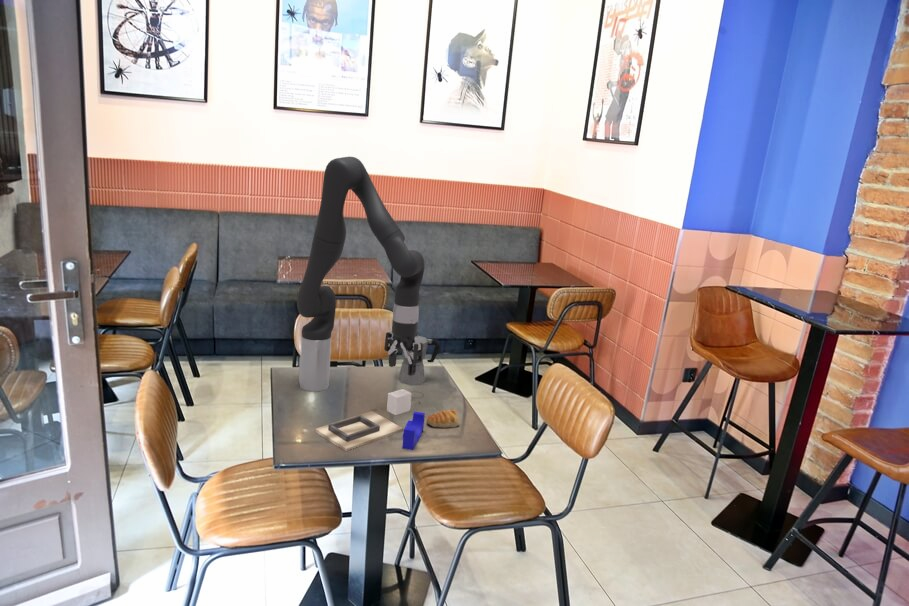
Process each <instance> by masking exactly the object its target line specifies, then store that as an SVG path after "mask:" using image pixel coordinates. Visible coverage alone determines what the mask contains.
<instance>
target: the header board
mask: <svg viewBox="0 0 909 606" xmlns="http://www.w3.org/2000/svg"><path fill="white" fill-rule="evenodd" d="M314 432H315V433H316V434H317V435H319V436H321V437H323V438H324V439H325V440H327V441H328V442H330V443H331V444H333V445H335V446H337V447H338V448H339V447H340V448H339V449H341V450H342V449H343V451H345V452H348V450H349V451H351V450H350V449H352V450H354V449H357V448H360V447H362V445H363V446H365V445H367V443H368V444H371V443H373V441H374V442H376V440H377V441H379V440H382V439H384V438H387V437H390V436H393V435H395V434H399V433H401V432H404V428H403V427H401V426H400V425H397V424H396V423H394V422H392V421H391V420H389V419H387V418H386V417H384V416H382V415H379V414H378V413H376V412H374V411H372V410H371V411H367V412H365V413H361V414H358V415H355V416H351V417H349V418H348V417H347V418H345V419H342V420H337V421H336V422H332V423H329V424H325V425H323V426H320V427H315V428H314ZM370 442H371V443H370ZM364 444H365V445H364ZM359 446H360V447H359ZM356 447H357V448H356ZM353 448H354V449H353Z"/></svg>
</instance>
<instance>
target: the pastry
mask: <svg viewBox="0 0 909 606" xmlns="http://www.w3.org/2000/svg"><path fill="white" fill-rule="evenodd" d="M426 423H427V424H428V425H430V427H431V426H432V427H433V428H441V429H442V428H445V429H446V428H456V427H458V426H459V425H460V418H459V413H458V412H457V410H455V409H449V410H448V409H446V410H445V409H444V410H439V411H438V412H436V413H432V414H430V415H428V416H427V418H426Z"/></svg>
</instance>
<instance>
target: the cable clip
mask: <svg viewBox="0 0 909 606" xmlns="http://www.w3.org/2000/svg"><path fill="white" fill-rule="evenodd" d="M412 414H413V415H412V420H410V419H409V420H407V422H406V425H405V427H404V428H403V434H402V449H405V450H411V451H414V448H416V445H417V444H418V442H419V440H420V438H421V437H422V433H423V432H424V428H425V427H424V426H425V417H426V414H425V412H419V411H413V413H412Z"/></svg>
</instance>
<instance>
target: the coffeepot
mask: <svg viewBox="0 0 909 606" xmlns="http://www.w3.org/2000/svg"><path fill="white" fill-rule="evenodd" d="M418 334H419V332H418V330H417V335H416V336H415V342H416V343H422V344H423V350H422V362H421V363H417V364H416V372H415V374H414V375H412V376H409V375H408V364H409V361H408V358H407V357H405V354H404V353H402V352H401V354H402V358H403V361H402V362H401V367H400V371H399V375H398V378H397V379H398V381H399V382H400V383H401V384H404V385H408V386H417V385H419V386H420V385H423V383H424V382H426V375H425V366H424V363H423V361H424V360H425V358H426V353H427V349H428V347H429V346H435V347H434V348H433V353H432V354H431V358H430V359H427V360H426V361H427V363H433V362H435V359H436V357H437V356H438V353H439V351H440V349H441V344H440V342H439V341H438V340H437V339H433V338H432V339H431V338H427V337H425V336H422V335H418ZM408 353H412V351H410V352H408ZM411 358H412V360H413V357H412V356H411ZM417 359H418V356H417Z"/></svg>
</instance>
